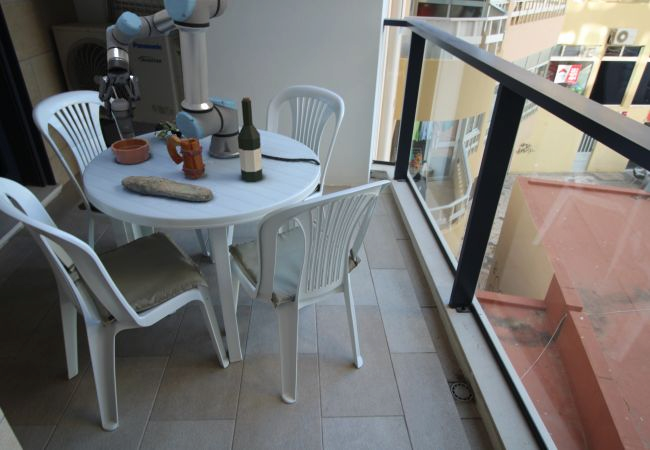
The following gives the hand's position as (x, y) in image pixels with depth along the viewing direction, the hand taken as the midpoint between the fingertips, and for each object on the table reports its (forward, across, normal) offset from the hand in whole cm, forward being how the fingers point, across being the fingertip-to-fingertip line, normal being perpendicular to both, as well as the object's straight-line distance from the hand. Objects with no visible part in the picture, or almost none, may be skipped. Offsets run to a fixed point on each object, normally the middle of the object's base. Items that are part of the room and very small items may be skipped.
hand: (120, 116), depth 151 cm
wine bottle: (+30, -47, +4) cm, 56 cm away
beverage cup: (+4, 0, -9) cm, 10 cm away
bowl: (+10, 0, -16) cm, 19 cm away
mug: (+26, -23, -1) cm, 35 cm away
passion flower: (-2, -14, -28) cm, 32 cm away
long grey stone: (+35, -16, +9) cm, 40 cm away
